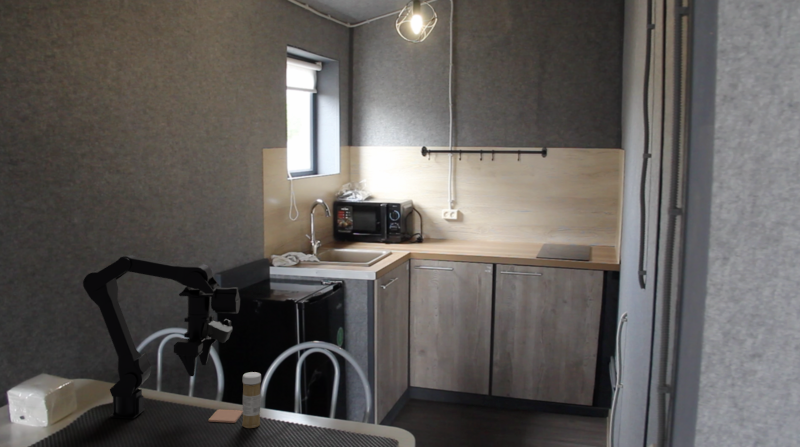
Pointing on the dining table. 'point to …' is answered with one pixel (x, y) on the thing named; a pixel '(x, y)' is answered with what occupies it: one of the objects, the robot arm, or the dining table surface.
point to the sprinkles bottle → (251, 399)
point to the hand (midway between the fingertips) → (198, 370)
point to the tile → (226, 416)
